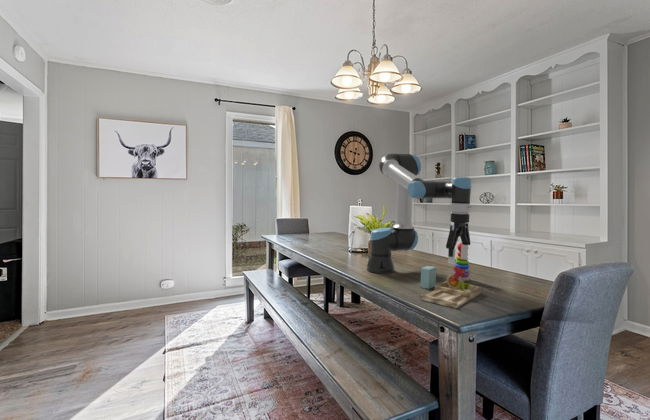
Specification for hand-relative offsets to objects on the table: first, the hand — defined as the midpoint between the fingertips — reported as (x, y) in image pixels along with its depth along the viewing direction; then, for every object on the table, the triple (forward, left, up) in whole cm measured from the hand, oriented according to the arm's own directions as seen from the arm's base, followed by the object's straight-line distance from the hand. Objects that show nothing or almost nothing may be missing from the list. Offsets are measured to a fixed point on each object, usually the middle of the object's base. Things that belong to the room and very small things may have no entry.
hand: (457, 261), depth 150 cm
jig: (0, -7, -14) cm, 15 cm away
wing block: (-14, 0, -14) cm, 20 cm away
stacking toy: (-8, +24, -14) cm, 29 cm away
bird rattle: (0, -1, -13) cm, 13 cm away
